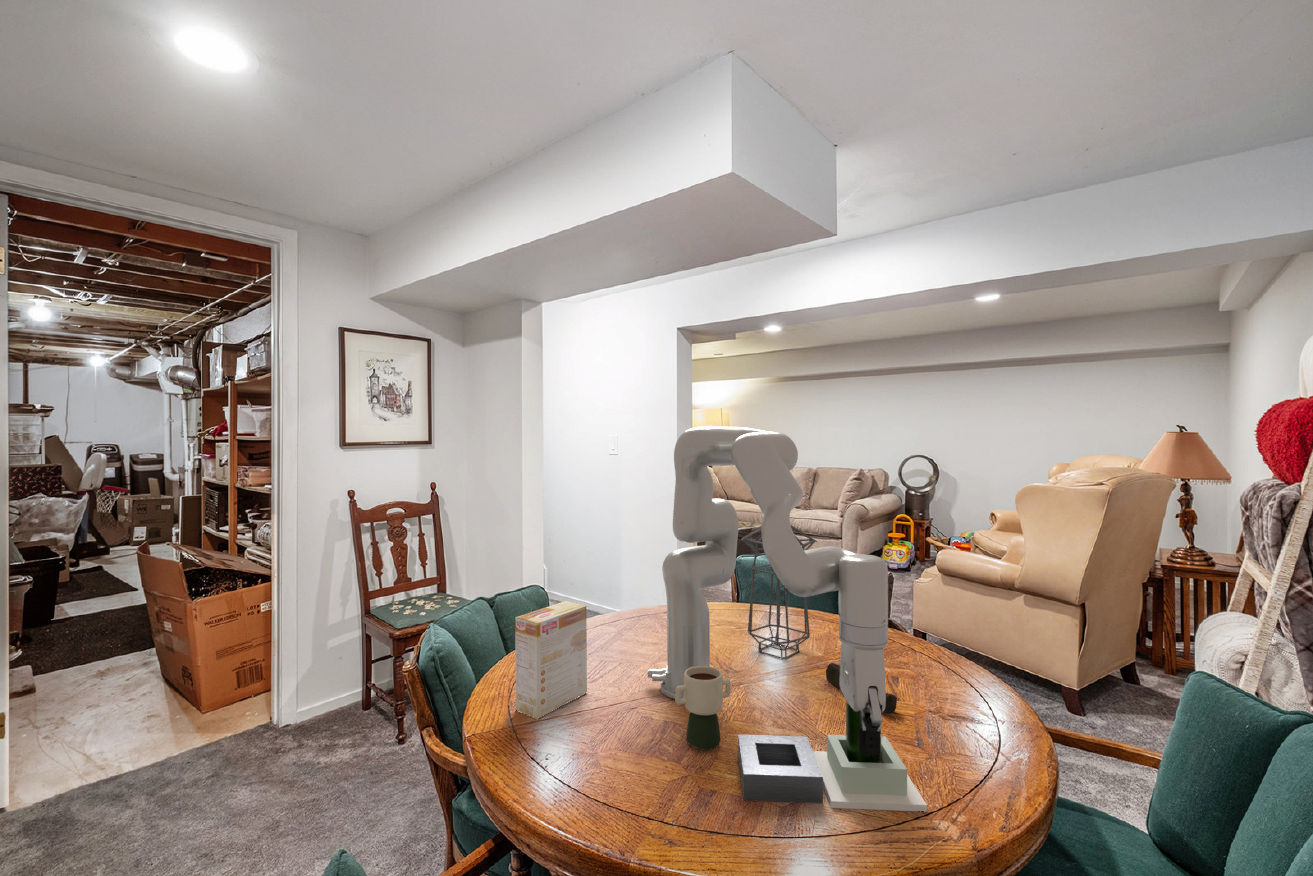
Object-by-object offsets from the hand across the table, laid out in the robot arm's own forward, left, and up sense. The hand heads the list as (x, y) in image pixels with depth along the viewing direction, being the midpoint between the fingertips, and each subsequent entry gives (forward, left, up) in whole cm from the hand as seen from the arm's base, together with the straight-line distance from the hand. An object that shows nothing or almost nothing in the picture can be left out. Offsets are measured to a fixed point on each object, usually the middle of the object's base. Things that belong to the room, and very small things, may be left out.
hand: (863, 742), depth 92 cm
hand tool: (+7, +32, -7) cm, 34 cm away
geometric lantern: (-5, +59, -6) cm, 59 cm away
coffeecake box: (-58, +25, -6) cm, 63 cm away
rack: (0, 0, -6) cm, 6 cm away
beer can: (0, 0, -5) cm, 5 cm away
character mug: (-26, +10, -6) cm, 28 cm away
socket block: (-14, 0, -6) cm, 15 cm away
